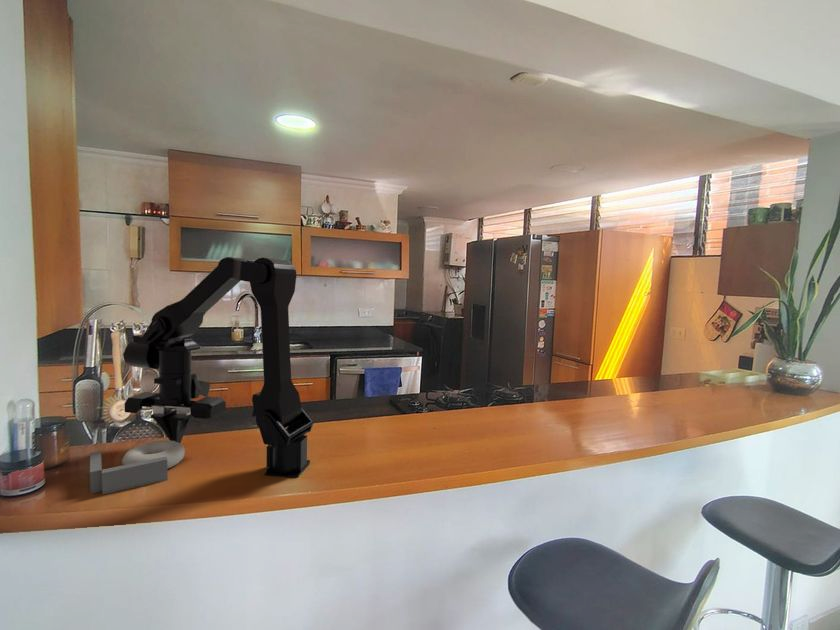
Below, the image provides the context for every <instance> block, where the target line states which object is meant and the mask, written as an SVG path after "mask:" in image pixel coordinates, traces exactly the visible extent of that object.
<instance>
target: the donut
mask: <svg viewBox="0 0 840 630" xmlns="http://www.w3.org/2000/svg"><path fill="white" fill-rule="evenodd" d="M185 452H186V451H185V447H184V446H183V445H182V444H181V443H178V442H175V441H170V440H169V439H167V440H164V439H163V440H155V441H149V442H145V443H142V444H138V445H136V446H135V447H132V448H130V450H128V451H126V453H125V454H124V456H123V458H122V460H121V464H122V465H121V466H123V465H127V464H132V463H137V462H142V461H147V460H151V459H156V458H161V457H167V470H169V469H171V468H173V467H174V466H176V465H178V464H179V462H181V461H182V460H183V459H184V457H185Z"/></svg>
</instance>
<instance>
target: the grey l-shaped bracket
mask: <svg viewBox="0 0 840 630" xmlns="http://www.w3.org/2000/svg"><path fill="white" fill-rule="evenodd" d="M102 464H103V463H102V451H101V450H99V451H94V452H90V453H89V487H90V488H89V489H90V494H94V493H96V494H97V493H99V492H102V495H108V494H111V493H116V492H120V491H125V490H129V489H133V488H138V487H143V486H148V485H152V484H156V483H160V482H165V481H168V475H169V474H168V473H169V472H168V470H169V469H167V457H161V458H156V459H151V460H147V461H142V462H137V463H132V464H127V465H119V466H115V467H109V468H103V469H102V467H103V466H102Z"/></svg>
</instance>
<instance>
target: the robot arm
mask: <svg viewBox="0 0 840 630" xmlns="http://www.w3.org/2000/svg"><path fill="white" fill-rule="evenodd" d="M240 282H248V283H249V285H250V290H251V293H252V296H253V297H254V299H255V301H257V303H258V306H259V309H260V323H261V324H260V325H261V347H262V365H263V366H262V369H263V385H262V388H261V389H260V391H258V392H256V393H254V394H252V397H251V403H252V409H253V411H252V415H251V417H254V420H255V423H256V426H257V427H258V429H259V431H260V436H261V439H262V442H263V444H264V445H266V449H265V450H266V451H265V453H266V456H265V457H266V464H265V465H266V468H267V469H266V470H265V471H264V474H263V475H264V476H272V477H283V478H294V479H295V478H299V477H300V475H301V474H302V473H304V471H305V470H306V469H307V468H308V466H309V465H310V464H311V460H310V459H308V435H307V434H308V433H311V431H312V429H313V425H314V421H313V420H312V418H311V417H310V416H309V414H307V412H306V411H305V410H304V409H303V407H302V403H301V397H300V394H299V392H298V391H299V390H298V389H297V388H296V386H295V384H294V383H293V380H292V369H291V368H292V366H291V365H292V364H291V342H290V341H291V339H290V321H289V320H290V317H289V316H290V315H289V306H290V303H291V301H292V298H293V297H294V294H295V292H296V283H297V270H296V268H295V265H293V264H292V262H291V261H288V260H285V259H278V258H269V257H260V258H257V259H255V260H247V259H245V258H240V257H233V256H232V257H231V256H227V257H226V256H225V257H223V258H222V259H220V260H219V262H218V263H217V266H216V267H214V268H213V269H212V271H210V272H209V273H208V274H207V275H206V276H205V277H204V278H203V279H202V280H200V282H198V283H197V285H196V286H194V287H193V289H191V291H190V292H188V293H187V294H186V295H185V296H184V297H183V298H181V299H180V300H178V301H176V302H174V303H171V304H169V305H166V306H164V307H163V308H161V309H160V310H158V311H156V312H155V313H154V314H153V315H152V317H151V321H150V324H149V325H148V326H147V328H146V330H145V332H144V333H142V334H134V335H132V341H131V342H129V343H128V344H127V345H126V347H125V349H124V351H123V353H122V354H123V355H122V356H123V361H124V362H125V363H126V365H128V366H129V367H132V368H133V367H134V368H142V369H150V370H157V369H158V377H155V378H153V382H154V383H153V384H157V385H158V390H159V392H155V391H154V392H152V391H151V392H150V391H144V392H141V393H138V394H135V395H132V396H130V397H127V399H126V400H125V402H124V413H129V414H131V413H132V414H138V413H140V412H141V411H142V410H143V408H151V409H153V410H152V414H151V415H150V419H153V420H155V421H154V422H156V423H157V424H158V426H159V427H160V428H161V429H162V431H163V432H164V434H165V436H167V438H168V440H169V441H175V442H178V443H180V444H181V442H182V440H183V437H184V435H185V433H186V430H187V426H188V425H189V423H190V421H191V419H192V418H194V419H202V420H203V419H205V420H207V419H211V418H213V417H215V416H217V415H219V414H221V413H223V412H225V411H226V410H227V402H226V400H225V399H224V397H220V396H219V397H217V396H209V392H210V388H211V384H212V383H211V382H212V381H211V382H210V381H205V380H198V376H197V374H196V373H194V372H193V371H192V352H193V351H197V350H200V349H201V346H200V345H199V343H197V342H195V341H194V340H193V338H192V337H191V336H193V335H195V333H196V332H197V330H199V328H200V327H201V325H202V324H203V321H204V316H205V315H206V313H207V312H208V311H209V310H210V309H211V308H212V307H214V306H215V305H216V304H217V303H218V302H219V301H220V300H221V299H223V297H224V296H226V295H227V294H228V293H229V292H230V291H231V290H232V289H233V288H234V287H236V286H237V285H238V284H239V283H240ZM188 337H189V338H188ZM183 338H184V339H183ZM179 340H180V341H179ZM192 372H193V373H192ZM200 396H203V398H201V399H199V400H193V399H198V398H199V397H200Z"/></svg>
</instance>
